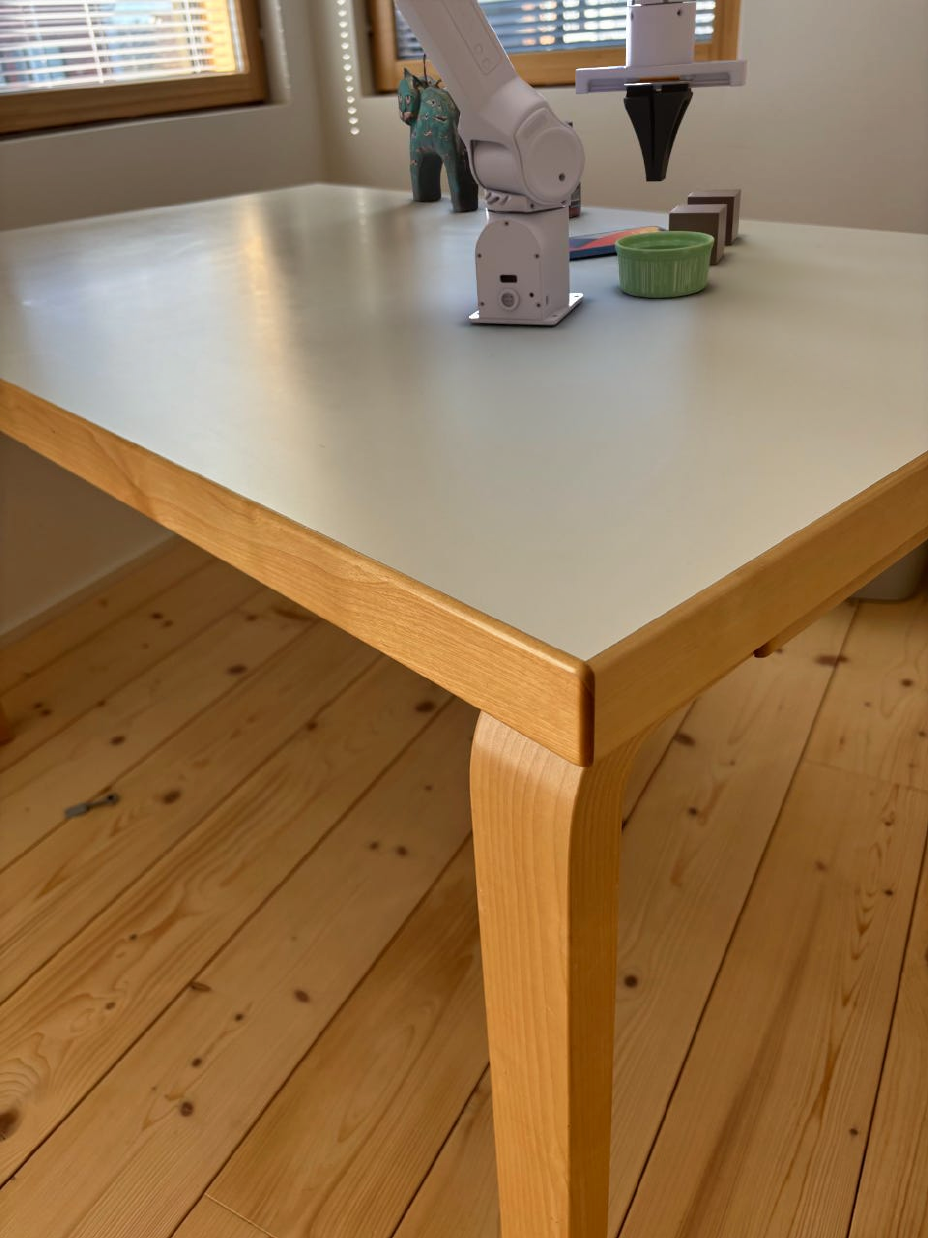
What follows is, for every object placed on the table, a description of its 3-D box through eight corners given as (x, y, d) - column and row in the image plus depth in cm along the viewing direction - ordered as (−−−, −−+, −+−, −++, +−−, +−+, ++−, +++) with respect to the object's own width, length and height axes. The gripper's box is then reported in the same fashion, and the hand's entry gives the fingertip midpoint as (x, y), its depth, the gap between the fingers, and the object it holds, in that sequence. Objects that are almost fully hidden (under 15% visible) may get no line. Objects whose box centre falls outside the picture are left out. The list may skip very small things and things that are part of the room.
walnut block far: (731, 245, 109) (734, 195, 106) (685, 245, 111) (687, 196, 108) (737, 236, 113) (741, 188, 110) (693, 236, 115) (695, 189, 112)
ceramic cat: (402, 199, 156) (389, 52, 146) (440, 194, 158) (430, 49, 148) (452, 214, 140) (441, 50, 130) (493, 208, 142) (486, 47, 132)
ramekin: (720, 278, 96) (723, 230, 93) (700, 301, 89) (702, 249, 86) (629, 276, 99) (629, 230, 97) (603, 298, 92) (603, 248, 90)
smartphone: (531, 252, 113) (530, 242, 113) (654, 234, 116) (654, 224, 115) (551, 263, 107) (550, 253, 107) (681, 245, 110) (681, 235, 109)
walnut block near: (716, 264, 101) (719, 212, 98) (667, 264, 103) (668, 212, 100) (724, 254, 105) (727, 203, 102) (676, 254, 107) (678, 204, 104)
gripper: (757, -3, 84) (744, 172, 91) (590, 10, 89) (590, 174, 96) (744, -3, 79) (731, 183, 85) (567, 11, 84) (569, 185, 91)
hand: (656, 179), depth 90 cm, fingers closed
